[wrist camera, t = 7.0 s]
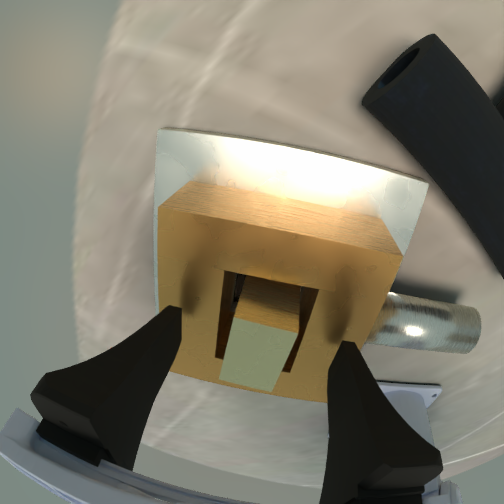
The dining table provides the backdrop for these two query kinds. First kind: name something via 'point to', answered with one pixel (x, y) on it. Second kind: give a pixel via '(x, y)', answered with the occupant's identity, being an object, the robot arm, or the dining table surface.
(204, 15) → the dining table surface
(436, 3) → the dining table surface
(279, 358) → the pale wooden brick
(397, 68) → the pipe connector
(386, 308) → the wooden slotted box
